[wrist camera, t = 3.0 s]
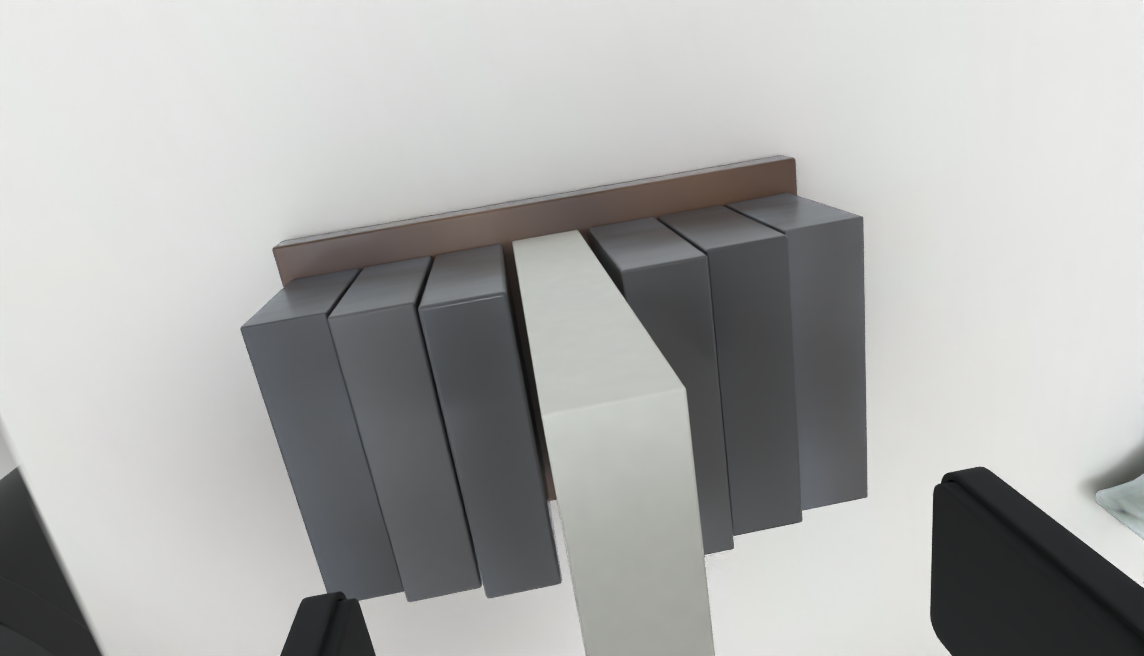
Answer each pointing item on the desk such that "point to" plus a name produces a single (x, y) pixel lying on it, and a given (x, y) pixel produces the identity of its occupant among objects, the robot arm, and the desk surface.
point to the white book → (615, 457)
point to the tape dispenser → (1125, 503)
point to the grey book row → (507, 382)
